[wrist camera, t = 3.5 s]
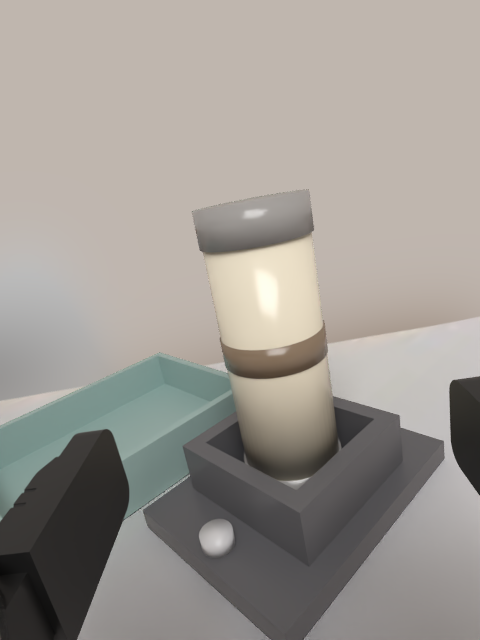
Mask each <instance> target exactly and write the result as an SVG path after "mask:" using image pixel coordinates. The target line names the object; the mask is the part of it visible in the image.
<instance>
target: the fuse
mask: <svg viewBox="0 0 480 640" xmlns="http://www.w3.org/2000/svg"><path fill="white" fill-rule="evenodd" d="M192 215H193V220H194V225H195V230H196V234H197V239H198V244H199V248H200V251H202V252H203V255H204V260H205V265H206V270H207V274H208V279H209V284H210V289H211V294H212V298H213V303H214V308H215V312H216V317H217V322H218V327H219V332H220V342H221V347H222V352H223V356H224V361H225V366H226V368H227V370H228V375H229V380H230V384H231V389H232V394H233V399H234V403H235V408H236V413H237V418H238V423H239V427H240V432H241V437H242V442H243V446H244V462H245V464H247V465H249V466H251V467H253V468H255V469H257V470H259V471H261V472H262V473H264V474H266V475H268V476H270V477H272V478H274V479H276V480H278V481H280V482H282V483H283V484H285V485H287V486H289V487H291V488H293V489H295V490H298V489H299V488H300V487H301V486H302V485H303V484H304V483H305V482H306V481H307V480H308V479H310V478H311V477H312V476H313V475H314V474H315V473H316V472H317V471H318V470H319V469H320V468H321V467H323V466H324V465H325V464H326V463H327V462H328V461H329V460H330V459H331V458H332V457H333V456H335V455H336V454H337V453H338V452H339V451H340V450H341V443H340V440H339V438H338V435H337V427H336V419H335V411H334V403H333V395H332V387H331V380H330V372H329V364H328V356H327V353H328V347H327V339H326V331H325V323H324V320H323V317H322V309H321V301H320V293H319V285H318V277H317V271H316V262H315V254H314V247H313V239H312V231H314V226H313V217H312V209H311V201H310V194H309V189H308V190H307V189H306V190H297V191H290V192H283V193H277V194H271V195H266V196H260V197H255V198H250V199H244V200H239V201H234V202H229V203H224V204H219V205H215V206H211V207H206V208H202V209H198V210H195V211H192Z"/></svg>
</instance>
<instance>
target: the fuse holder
mask: <svg viewBox="0 0 480 640" xmlns="http://www.w3.org/2000/svg"><path fill="white" fill-rule="evenodd" d="M333 403H334V411H335V419H336V427H337V435H338V438H339V440H340V443H341V450H340V451H339V452H338V453H337V454H336V455H335V456H333V457H332V458H331V459H330V460H329V461H328V462H327V463H326V464H325V465H324V466H323V467H321V468H320V469H319V470H318V471H317V472H316V473H315V474H314V475H313V476H312V477H311V478H310V479H308V480H307V481H306V482H305V483H304V484H303V485H302V486H301V487H300V488H299V489H298V490H295V489H293V488H291V487H289V486H287V485H285V484H283V483H282V482H280V481H278V480H276V479H274V478H272V477H270V476H268V475H266V474H264V473H262V472H261V471H259V470H257V469H255V468H253V467H251V466H249V465H247V464H245V462H244V446H243V442H242V437H241V432H240V427H239V423H238V418H237V413H236V411H235V412H234V413H232V414H231V415H229V416H228V417H226V418H225V419H223V420H222V421H220V422H218V423H217V424H215V425H214V426H212V427H211V428H209V429H208V430H206V431H205V432H203V433H201V434H200V435H198V436H197V437H195V438H194V439H192V440H191V441H189V442H188V443H186V444H185V445H183V450H184V454H185V458H186V462H187V465H188V469H189V473H190V477H189V478H187V479H186V480H185V481H183V482H182V483H180V484H179V485H178V486H176V487H175V488H173V489H172V490H171V491H169V492H168V493H166V494H165V495H164V496H162V497H161V498H159V499H158V500H157V501H155V502H154V503H152V504H151V505H150V506H148V507H147V508H145V509H144V510H143V513H144V516H145V519H146V522H147V525H148V527H149V528H150V529H151V530H152V531H153V532H154V533H155V534H156V535H157V536H158V537H160V538H161V539H162V540H163V541H164V542H165V543H166V544H167V545H168V546H169V547H171V548H172V549H173V550H174V551H175V552H176V553H177V554H178V555H179V556H180V557H181V558H183V559H184V560H185V561H186V562H187V563H188V564H189V565H190V566H191V567H192V568H193V569H195V570H196V571H197V572H198V573H199V574H200V575H201V576H202V577H203V578H204V579H205V580H207V581H208V582H209V583H210V584H211V585H212V586H213V587H214V588H215V589H216V590H218V591H219V592H220V593H221V594H222V595H223V596H224V597H225V598H226V599H227V600H228V601H230V602H231V603H232V604H233V605H234V606H235V607H236V608H237V609H238V610H239V611H240V612H242V613H243V614H244V615H245V616H246V617H247V618H248V619H249V620H250V621H251V622H252V623H254V624H255V625H256V626H257V627H258V628H259V629H260V630H261V631H262V632H263V633H265V634H266V635H267V636H268V637H269V638H270V639H271V640H303V639H304V637H305V636H306V635H307V634H308V632H309V631H310V630H311V628H312V627H313V626H314V625H315V623H316V622H317V621H318V619H319V618H320V617H321V616H322V614H323V613H324V612H325V610H326V609H327V608H328V607H329V605H330V604H331V603H332V601H333V600H334V599H335V598H336V596H337V595H338V594H339V593H340V591H341V590H342V589H343V587H344V586H345V585H346V584H347V582H348V581H349V580H350V578H351V577H352V576H353V575H354V573H355V572H356V571H357V569H358V568H359V567H360V566H361V564H362V563H363V562H364V561H365V559H366V558H367V557H368V555H369V554H370V553H371V552H372V550H373V549H374V548H375V546H376V545H377V544H378V543H379V541H380V540H381V539H382V537H383V536H384V535H385V534H386V532H387V531H388V530H389V528H390V527H391V526H392V525H393V523H394V522H395V521H396V520H397V518H398V517H399V516H400V514H401V513H402V512H403V511H404V509H405V508H406V507H407V505H408V504H409V503H410V502H411V500H412V499H413V498H414V496H415V495H416V494H417V493H418V491H419V490H420V489H421V488H422V486H423V485H424V484H425V482H426V481H427V480H428V479H429V477H430V476H431V475H432V473H433V472H434V471H435V470H436V468H437V467H438V466H439V464H440V463H441V462H442V461H443V459H444V441H442V440H438V439H435V438H432V437H429V436H425V435H422V434H419V433H416V432H413V431H409V430H406V429H403V428H400V417H399V415H396V414H393V413H389V412H386V411H382V410H379V409H375V408H372V407H369V406H365V405H362V404H358V403H355V402H351V401H348V400H344V399H341V398H337V397H334V396H333Z"/></svg>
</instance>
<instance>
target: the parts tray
mask: <svg viewBox="0 0 480 640" xmlns="http://www.w3.org/2000/svg"><path fill="white" fill-rule="evenodd" d="M235 411H236V408H235V403H234V399H233V394H232V389H231V384H230V380H229V375H228V373H225V372H222V371H219V370H215V369H212V368H209V367H206V366H202V365H198V364H196V363H192V362H189V361H186V360H183V359H179V358H176V357H173V356H170V355H166V354H163V353H157V354H155V355H153V356H151V357H149V358H146V359H144V360H142V361H140V362H138V363H136V364H133V365H131V366H129V367H127V368H125V369H123V370H121V371H118V372H116V373H114V374H112V375H110V376H107V377H105V378H103V379H101V380H99V381H96V382H94V383H92V384H90V385H88V386H86V387H83V388H81V389H79V390H77V391H75V392H72V393H70V394H68V395H66V396H64V397H62V398H59V399H57V400H55V401H53V402H51V403H49V404H46V405H44V406H42V407H40V408H38V409H36V410H33V411H31V412H29V413H27V414H25V415H22V416H20V417H18V418H16V419H14V420H12V421H9V422H7V423H5V424H3V425H1V426H0V521H1V520H2V519H3V517H4V516H5V515H6V513H7V512H8V511H9V509H10V508H13V506H14V505H13V504H14V503H15V501H16V500H17V499H18V497H19V496H20V494H21V493H24V489H25V488H26V486H27V485H28V484H29V482H30V481H31V480H32V478H33V477H34V476H35V474H36V473H37V472H38V471H39V470H41V469H42V468H43V467H44V466H45V465H47V464H48V463H49V462H50V461H52V460H53V459H54V458H55V457H59V456H60V454H61V453H62V452H63V450H64V449H65V447H66V446H67V444H68V443H69V442H70V440H71V439H72V437H73V436H74V435H75V434H77V433H81V432H88V431H95V430H102V429H108V430H110V431H111V432H112V434H113V436H114V439H115V442H116V445H117V448H118V451H119V454H120V457H121V461H122V464H123V467H124V470H125V473H126V476H127V479H128V483H129V504H128V508H127V511H126V514H125V516H124V519H125V518H127V517H128V516H130V515H131V514H132V513H134V512H135V511H137V510H138V509H139V508H141V507H142V506H144V505H145V504H147V503H148V502H149V501H151V500H152V499H154V498H155V497H156V496H158V495H159V494H161V493H162V492H164V491H165V490H166V489H168V488H169V487H171V486H172V485H173V484H175V483H176V482H178V481H179V480H180V479H182V478H183V477H185V476H186V475H188V474H189V469H188V465H187V462H186V458H185V454H184V450H183V445H185V444H186V443H188V442H189V441H191V440H192V439H194V438H195V437H197V436H198V435H200V434H201V433H203V432H205V431H206V430H208V429H209V428H211V427H212V426H214V425H215V424H217V423H218V422H220V421H222V420H223V419H225V418H226V417H228V416H229V415H231V414H232V413H234V412H235ZM124 519H123V520H124Z"/></svg>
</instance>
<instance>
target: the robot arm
mask: <svg viewBox="0 0 480 640" xmlns="http://www.w3.org/2000/svg"><path fill="white" fill-rule="evenodd" d="M449 393H450V428H451V444H452V449H453V453H454V456H455V459H456V461H457V463H458V465H459V467H460V468H461V470H462V471H463V473H464V474H465V476H466V477H467V478H468V480H469V481H470V483H471V484H472V485H473V487H474V488H475V490H476V491H477V492H478V494H479V495H480V376H479V377H472V378H465V379H458V380H453V381H452V382H451V384H450V391H449ZM128 504H129V483H128V479H127V476H126V473H125V470H124V467H123V464H122V461H121V457H120V454H119V451H118V448H117V445H116V442H115V439H114V436H113V434H112V432H111V431H110V430H108V429H102V430H95V431H88V432H81V433H77V434H75V435H74V436H73V437H72V439H71V440H70V442H69V443H68V444H67V446H66V447H65V449H64V450H63V452H62V453H61V454H60V456H59V457H55V458H54V459H53V460H52V461H50V462H49V463H48V464H47V465H45V466H44V467H43V468H42V469H41V470H39V471H38V472H37V473H36V474H35V476H34V477H33V478H32V480H31V481H30V482H29V484H28V485H27V486H26V488H25V489H24V493H21V494H20V496H19V497H18V499H17V500H16V501H15V503H14V504H13V505H14V506H13V508H10V509H9V511H8V512H7V513H6V515H5V516H4V517H3V519H2V520H1V521H0V640H77V638H78V635H79V633H80V630H81V628H82V625H83V622H84V620H85V617H86V615H87V612H88V609H89V607H90V604H91V602H92V599H93V597H94V594H95V591H96V589H97V586H98V584H99V581H100V578H101V576H102V573H103V571H104V568H105V565H106V563H107V560H108V558H109V555H110V553H111V550H112V547H113V545H114V542H115V540H116V537H117V534H118V532H119V529H120V527H121V524H122V522H123V519H124V516H125V514H126V511H127V508H128Z"/></svg>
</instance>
